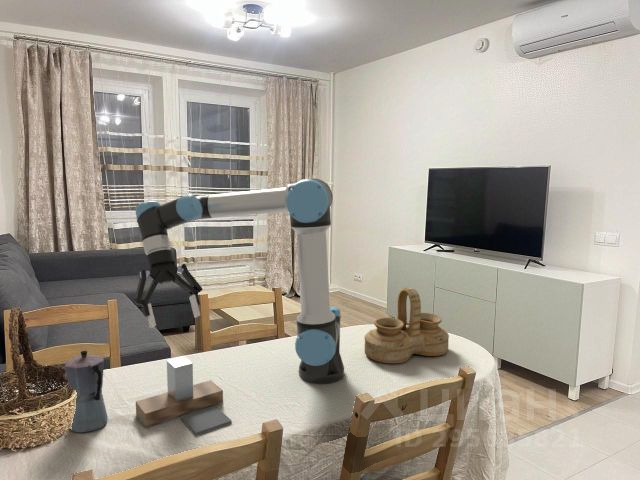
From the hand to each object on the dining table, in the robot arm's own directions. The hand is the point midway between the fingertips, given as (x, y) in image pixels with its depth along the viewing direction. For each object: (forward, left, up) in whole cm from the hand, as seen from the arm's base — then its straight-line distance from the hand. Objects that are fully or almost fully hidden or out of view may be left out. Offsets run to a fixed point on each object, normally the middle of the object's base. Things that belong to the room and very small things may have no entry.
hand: (176, 321), depth 135 cm
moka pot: (+13, +21, -23) cm, 34 cm away
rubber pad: (-15, +10, -23) cm, 29 cm away
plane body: (-5, +7, -23) cm, 24 cm away
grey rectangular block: (-5, +7, -19) cm, 21 cm away
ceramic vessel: (-63, -55, -23) cm, 86 cm away
